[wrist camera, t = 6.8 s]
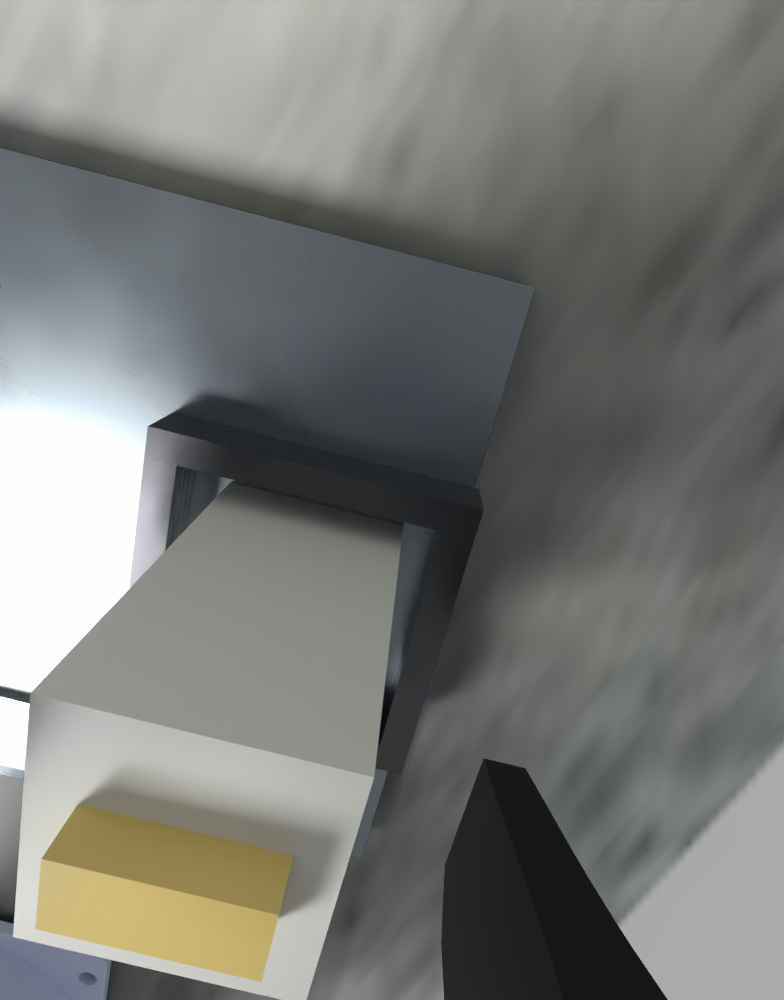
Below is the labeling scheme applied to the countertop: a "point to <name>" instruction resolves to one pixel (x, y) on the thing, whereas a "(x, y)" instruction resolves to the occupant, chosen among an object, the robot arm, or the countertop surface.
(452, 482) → the panel
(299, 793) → the white rectangular block
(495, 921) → the robot arm
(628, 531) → the countertop surface
